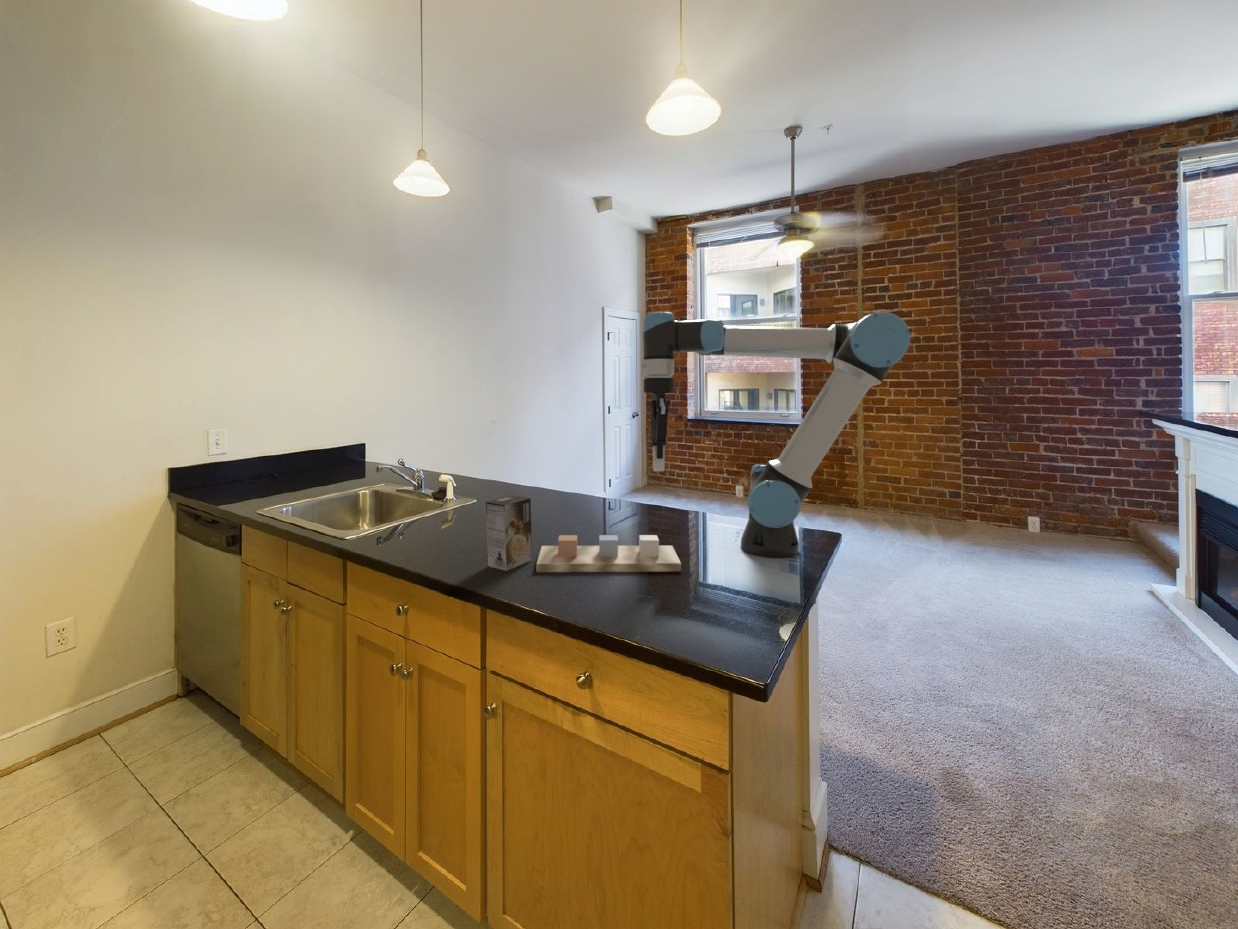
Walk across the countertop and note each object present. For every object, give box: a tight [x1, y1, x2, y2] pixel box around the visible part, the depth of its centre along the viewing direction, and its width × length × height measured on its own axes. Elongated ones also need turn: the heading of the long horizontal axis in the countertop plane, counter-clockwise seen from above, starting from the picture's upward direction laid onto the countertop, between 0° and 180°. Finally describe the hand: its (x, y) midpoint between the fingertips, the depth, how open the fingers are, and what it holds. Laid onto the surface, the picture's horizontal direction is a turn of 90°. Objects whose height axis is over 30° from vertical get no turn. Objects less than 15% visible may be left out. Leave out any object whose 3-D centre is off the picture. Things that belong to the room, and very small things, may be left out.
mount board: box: [535, 545, 682, 573], centre depth 132 cm, size 34×14×5 cm, turn 93°
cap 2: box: [638, 534, 660, 557], centre depth 132 cm, size 4×4×4 cm
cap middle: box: [598, 534, 619, 557], centre depth 132 cm, size 4×4×4 cm
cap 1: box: [557, 534, 578, 557], centre depth 131 cm, size 4×4×4 cm
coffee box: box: [485, 495, 533, 572], centre depth 129 cm, size 9×6×16 cm
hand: (658, 470), depth 136 cm, fingers closed
